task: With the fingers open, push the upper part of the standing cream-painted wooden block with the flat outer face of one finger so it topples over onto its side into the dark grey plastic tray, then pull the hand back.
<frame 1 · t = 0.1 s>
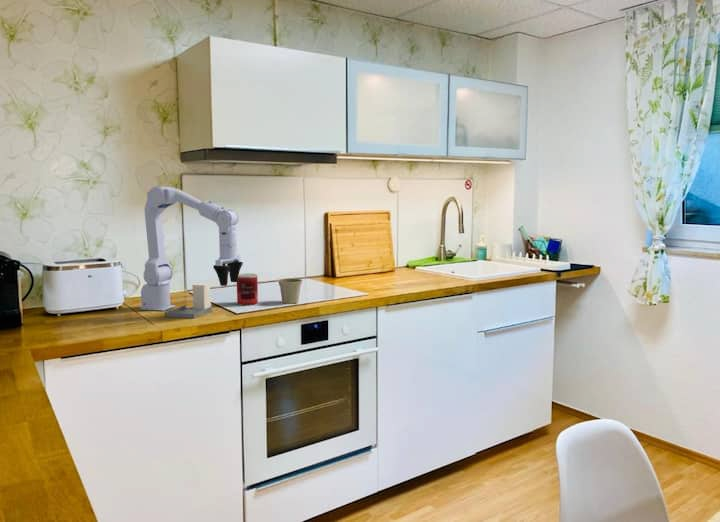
hand: (228, 283, 195), 10 cm above the worktop, tool pointing down, fingers open, 7 cm apart
cream block: (202, 308, 202), on the worktop
flower pot: (290, 302, 213), on the worktop
tray: (189, 313, 194), on the worktop
canned food: (247, 304, 211), on the worktop
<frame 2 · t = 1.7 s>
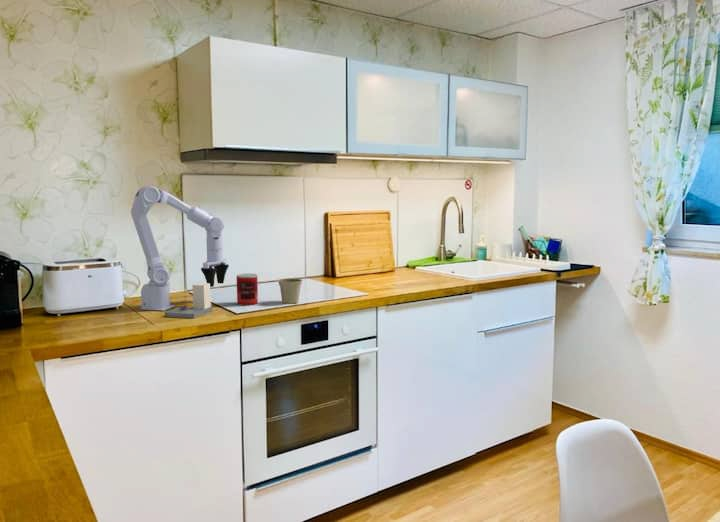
hand: (215, 284, 211), 7 cm above the worktop, tool pointing down, fingers open, 7 cm apart
nothing on the worktop moved.
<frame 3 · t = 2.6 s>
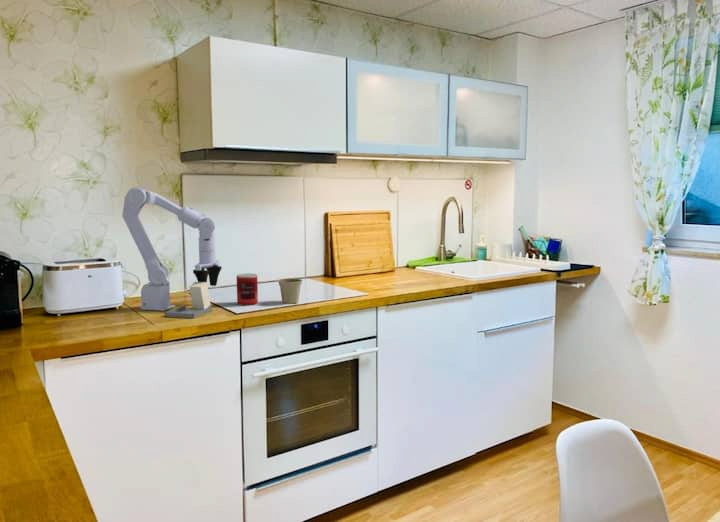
hand: (208, 287, 206), 7 cm above the worktop, tool pointing down, fingers open, 7 cm apart
cream block: (202, 307, 202), point 1 cm above the worktop, tilted 14°
everything else where it was.
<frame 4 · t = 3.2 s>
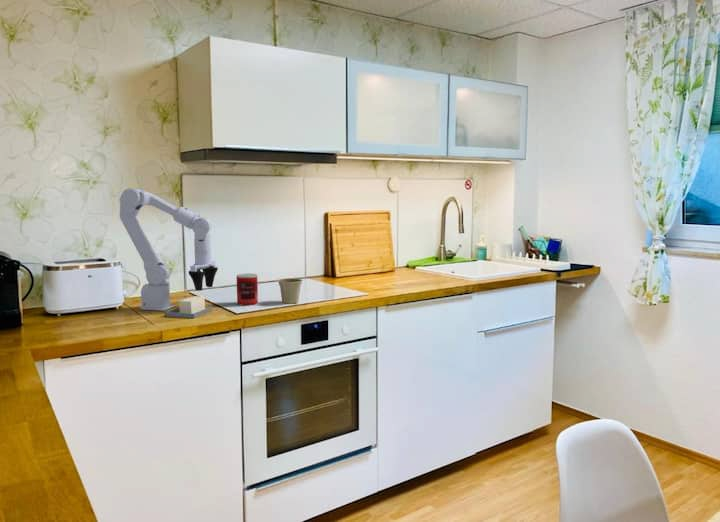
hand: (204, 288, 203), 7 cm above the worktop, tool pointing down, fingers open, 7 cm apart
cream block: (198, 302, 200), point 3 cm above the worktop, tilted 90°, touching tray
everything else where it was.
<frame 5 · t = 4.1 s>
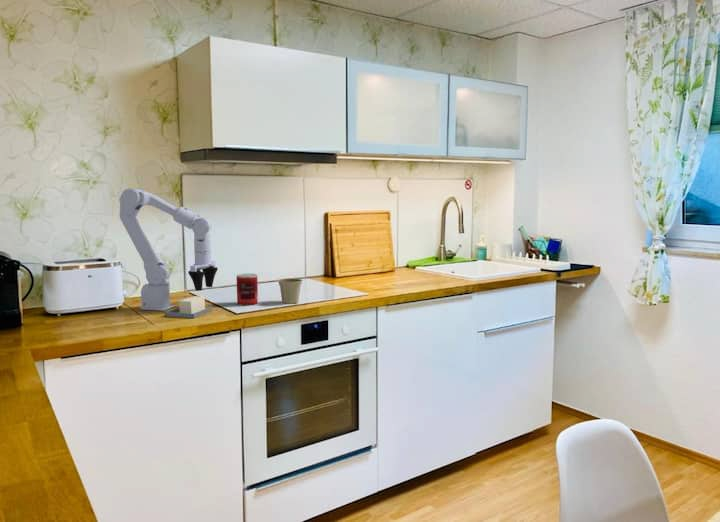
hand: (204, 288, 203), 7 cm above the worktop, tool pointing down, fingers open, 7 cm apart
nothing on the worktop moved.
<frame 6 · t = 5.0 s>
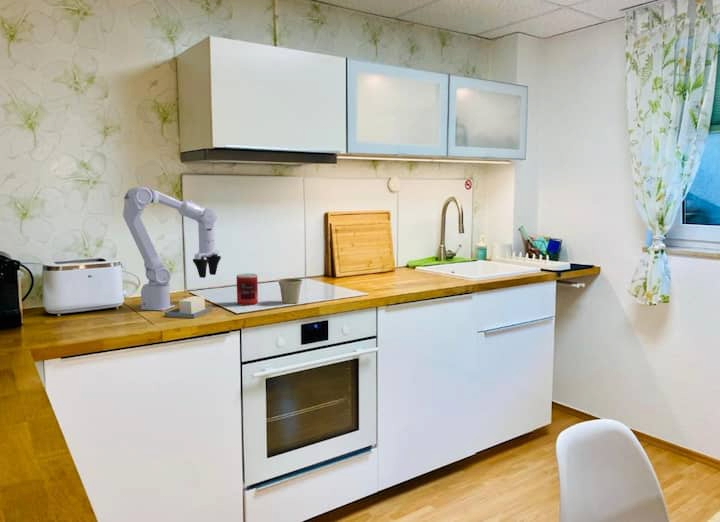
hand: (207, 276, 212), 10 cm above the worktop, tool pointing down, fingers open, 7 cm apart
nothing on the worktop moved.
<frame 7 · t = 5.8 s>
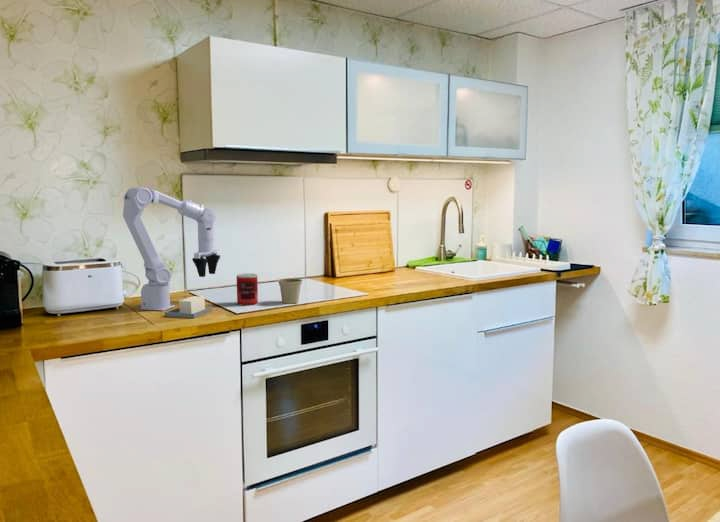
hand: (207, 275, 213), 10 cm above the worktop, tool pointing down, fingers open, 7 cm apart
nothing on the worktop moved.
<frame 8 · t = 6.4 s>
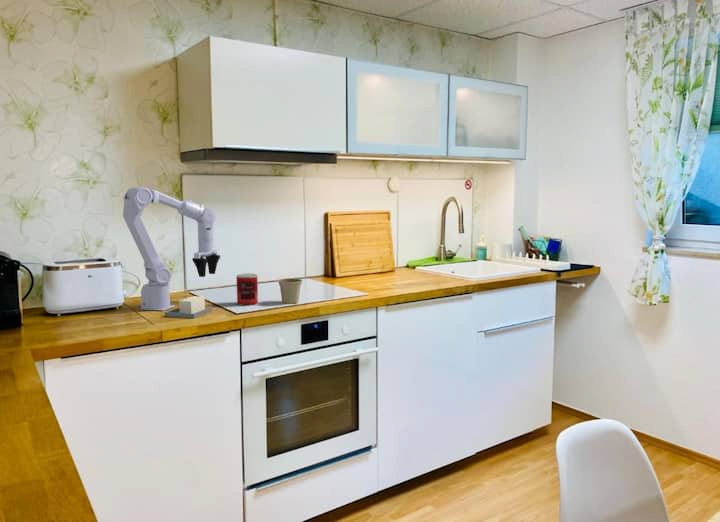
hand: (207, 275, 213), 10 cm above the worktop, tool pointing down, fingers open, 7 cm apart
nothing on the worktop moved.
at the end: cream block tilted 90°; cream block inside the target area (6.2 cm from its centre), point 2.5 cm above the worktop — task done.
